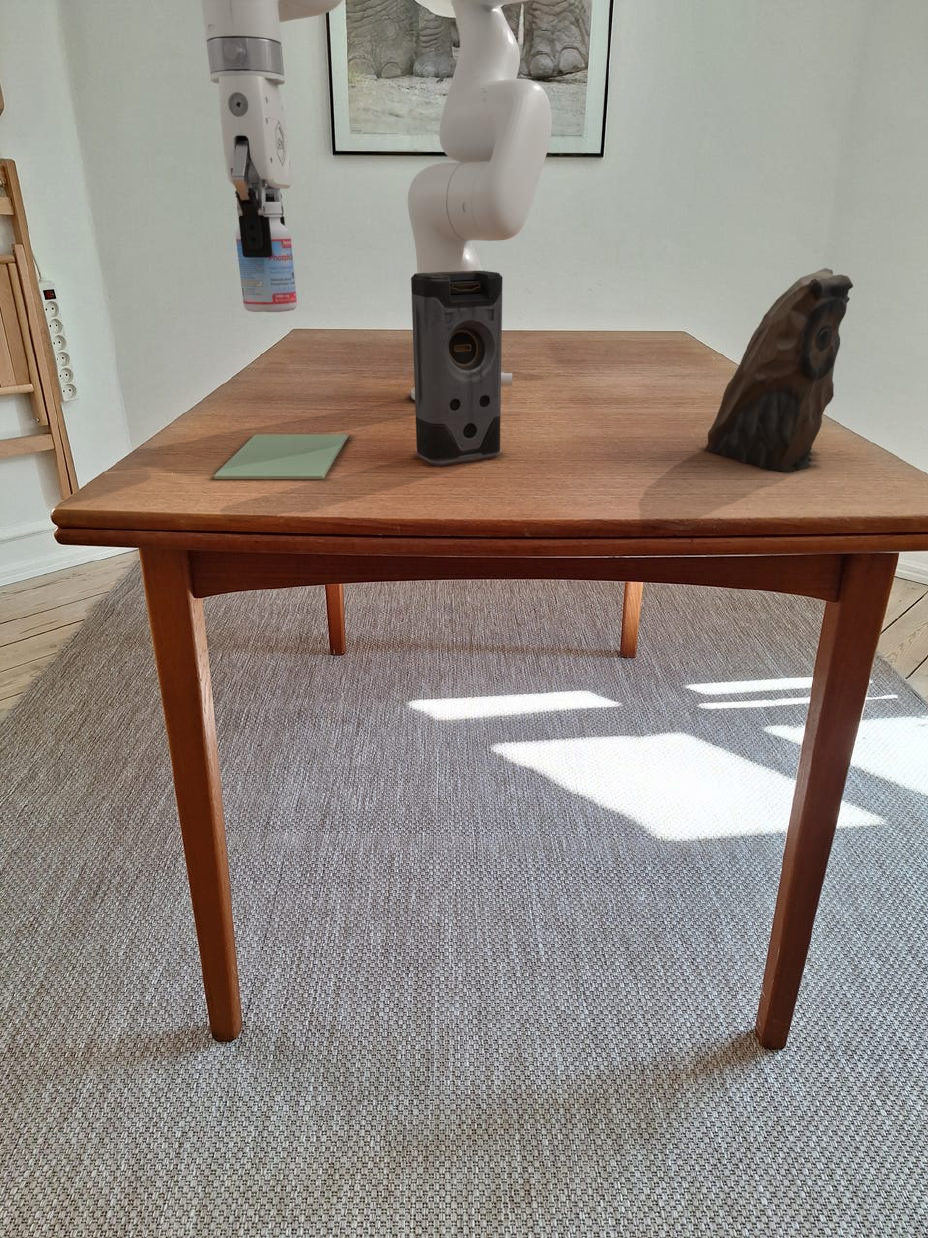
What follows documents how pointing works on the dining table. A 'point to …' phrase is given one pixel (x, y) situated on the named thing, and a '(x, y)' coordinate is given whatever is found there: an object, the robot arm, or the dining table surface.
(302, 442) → the side mat
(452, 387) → the electronic device
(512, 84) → the robot arm
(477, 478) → the dining table surface
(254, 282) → the pill bottle
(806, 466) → the owl
